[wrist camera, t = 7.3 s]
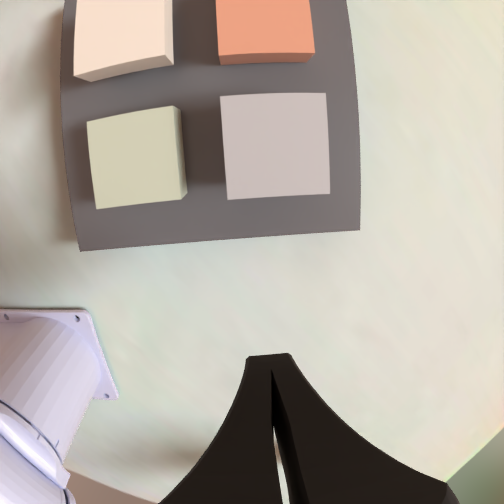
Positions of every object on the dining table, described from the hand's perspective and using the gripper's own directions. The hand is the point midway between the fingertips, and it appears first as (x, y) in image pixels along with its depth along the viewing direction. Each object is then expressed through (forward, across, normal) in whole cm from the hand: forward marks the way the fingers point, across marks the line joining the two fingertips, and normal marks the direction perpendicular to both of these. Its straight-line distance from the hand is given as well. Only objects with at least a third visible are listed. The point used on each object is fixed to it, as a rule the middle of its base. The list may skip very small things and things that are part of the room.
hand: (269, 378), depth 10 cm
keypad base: (+9, +2, -10) cm, 14 cm away
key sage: (+7, +5, -7) cm, 11 cm away
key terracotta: (+7, -1, -13) cm, 15 cm away
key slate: (+6, -1, -7) cm, 9 cm away
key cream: (+6, +5, -13) cm, 15 cm away
